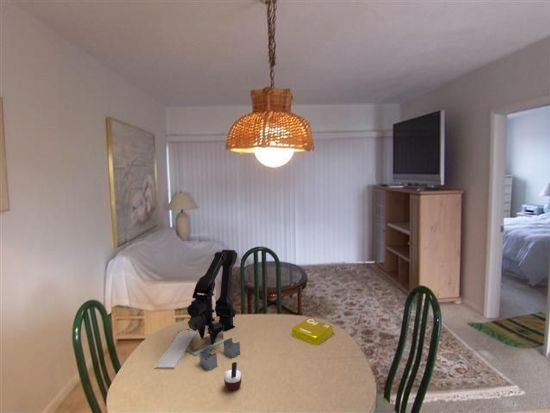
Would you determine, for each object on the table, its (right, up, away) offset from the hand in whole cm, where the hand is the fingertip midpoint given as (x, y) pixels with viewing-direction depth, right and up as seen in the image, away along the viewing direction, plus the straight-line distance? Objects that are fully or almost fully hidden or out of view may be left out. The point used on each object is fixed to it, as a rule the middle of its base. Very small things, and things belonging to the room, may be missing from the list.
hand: (207, 341), depth 153 cm
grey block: (+12, -3, -7) cm, 14 cm away
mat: (0, -2, 0) cm, 2 cm away
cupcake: (+15, -5, -30) cm, 34 cm away
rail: (0, -1, 0) cm, 1 cm away
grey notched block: (+4, -4, -16) cm, 17 cm away
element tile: (+49, -1, +9) cm, 49 cm away
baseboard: (-14, -3, -2) cm, 14 cm away
